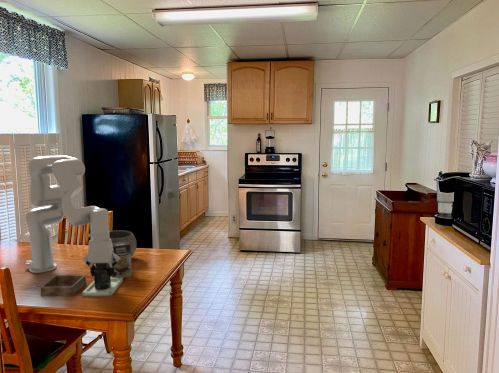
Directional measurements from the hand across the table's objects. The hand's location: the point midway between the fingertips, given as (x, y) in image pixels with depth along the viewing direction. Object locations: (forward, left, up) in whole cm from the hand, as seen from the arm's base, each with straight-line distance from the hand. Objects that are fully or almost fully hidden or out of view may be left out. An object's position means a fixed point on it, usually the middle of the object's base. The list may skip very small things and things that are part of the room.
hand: (102, 275), depth 170 cm
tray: (0, 0, -6) cm, 6 cm away
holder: (-17, -1, -6) cm, 18 cm away
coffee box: (+3, +15, -7) cm, 17 cm away
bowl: (-6, +36, -7) cm, 37 cm away
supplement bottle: (0, 0, -6) cm, 6 cm away
